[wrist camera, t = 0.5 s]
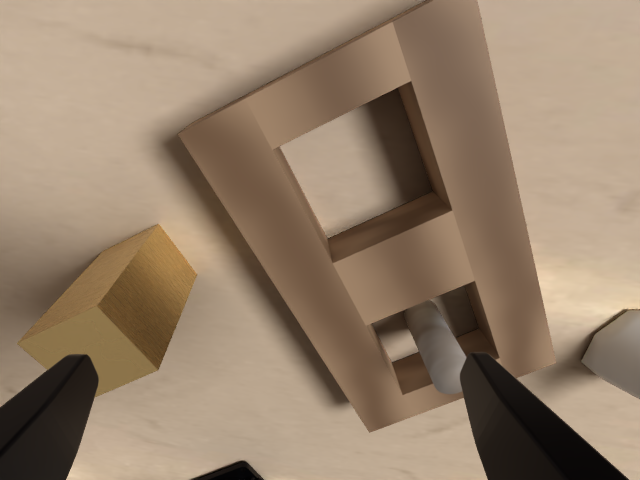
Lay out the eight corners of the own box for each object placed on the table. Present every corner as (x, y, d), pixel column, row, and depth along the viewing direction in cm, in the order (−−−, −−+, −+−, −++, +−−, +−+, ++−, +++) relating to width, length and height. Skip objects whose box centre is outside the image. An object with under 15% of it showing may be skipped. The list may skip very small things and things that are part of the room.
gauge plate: (362, 398, 30) (378, 473, 25) (192, 122, 19) (156, 149, 14) (530, 333, 28) (587, 399, 23) (444, -10, 18) (512, -36, 12)
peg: (144, 299, 24) (84, 401, 17) (102, 251, 22) (16, 343, 15) (197, 274, 24) (158, 370, 17) (158, 223, 22) (96, 306, 15)
